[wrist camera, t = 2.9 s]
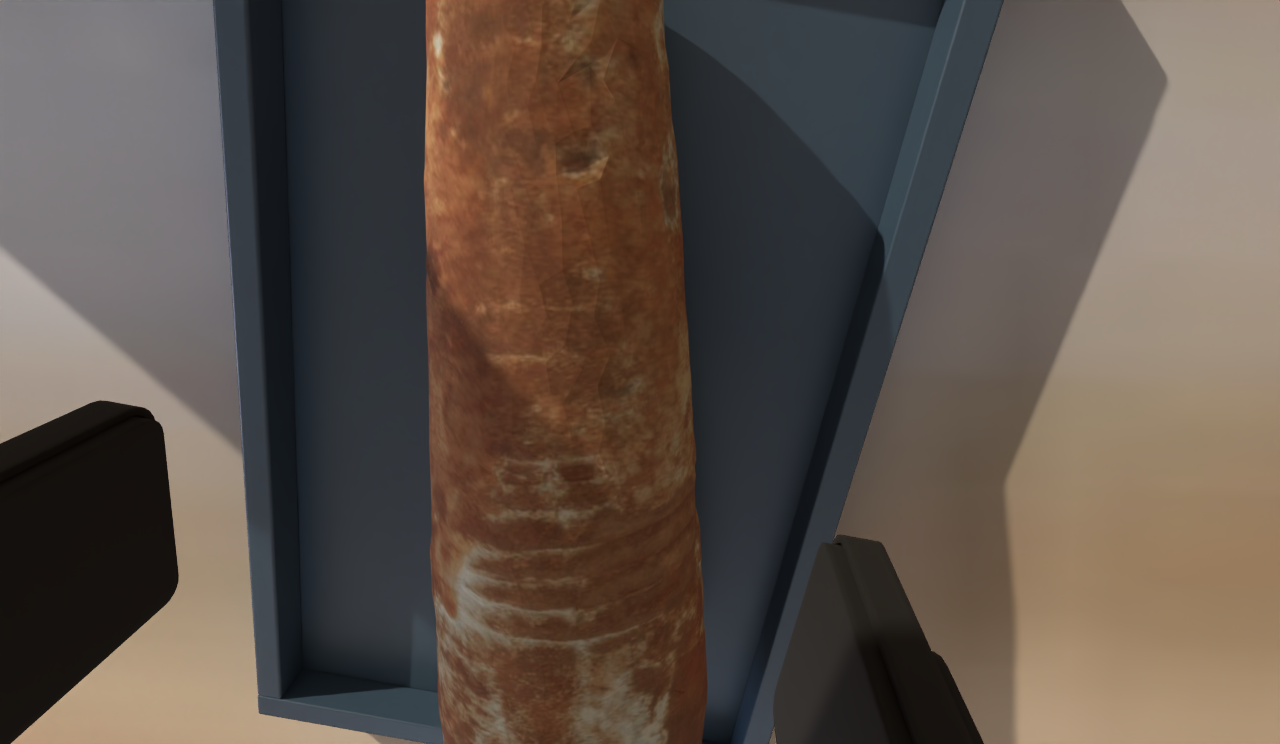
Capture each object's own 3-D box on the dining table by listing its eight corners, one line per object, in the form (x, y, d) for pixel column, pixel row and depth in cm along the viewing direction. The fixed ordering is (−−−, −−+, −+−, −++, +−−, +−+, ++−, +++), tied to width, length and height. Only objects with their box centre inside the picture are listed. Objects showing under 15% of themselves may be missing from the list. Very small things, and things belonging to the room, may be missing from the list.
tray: (245, -297, 12) (187, -351, 11) (1025, -165, 12) (1069, -203, 11) (287, 673, 20) (258, 714, 19) (746, 755, 20) (750, 802, 19)
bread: (484, 668, 19) (408, 868, 14) (432, -105, 13) (253, -265, 7) (699, 685, 19) (703, 896, 14) (763, -99, 12) (817, -263, 7)
